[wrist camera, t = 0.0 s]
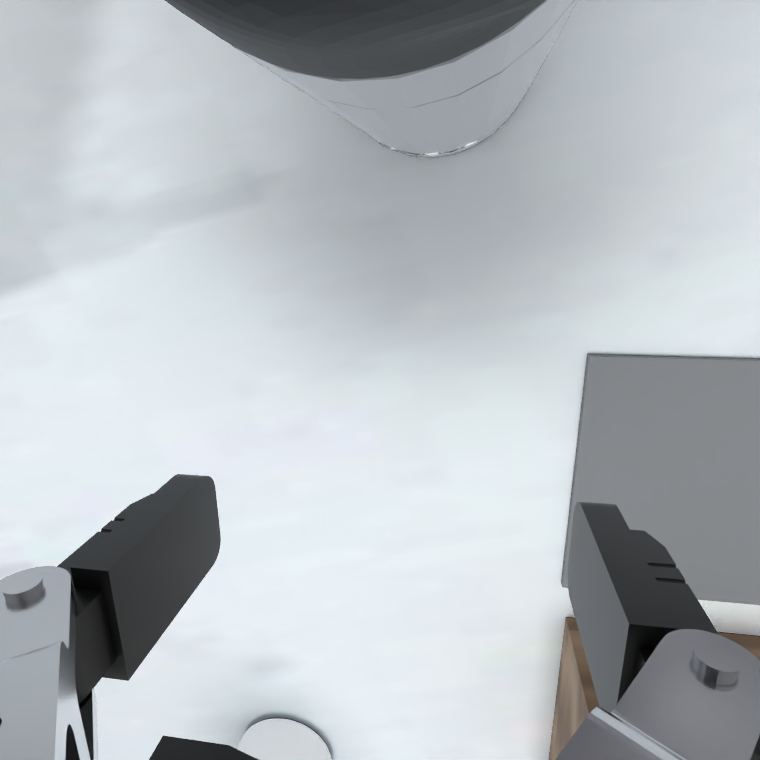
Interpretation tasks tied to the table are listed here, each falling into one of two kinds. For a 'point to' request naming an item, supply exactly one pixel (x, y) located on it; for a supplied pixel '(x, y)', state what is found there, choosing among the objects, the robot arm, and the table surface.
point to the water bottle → (283, 741)
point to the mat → (677, 462)
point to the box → (591, 684)
